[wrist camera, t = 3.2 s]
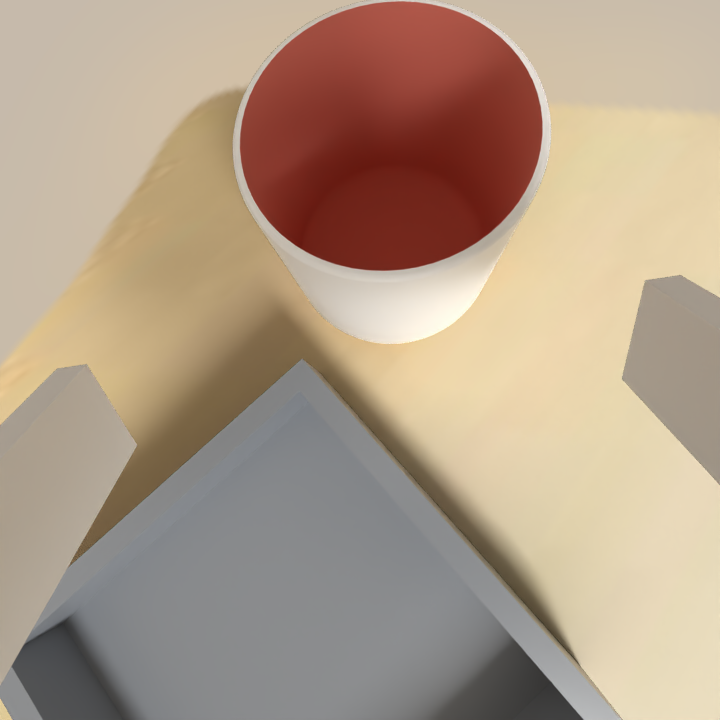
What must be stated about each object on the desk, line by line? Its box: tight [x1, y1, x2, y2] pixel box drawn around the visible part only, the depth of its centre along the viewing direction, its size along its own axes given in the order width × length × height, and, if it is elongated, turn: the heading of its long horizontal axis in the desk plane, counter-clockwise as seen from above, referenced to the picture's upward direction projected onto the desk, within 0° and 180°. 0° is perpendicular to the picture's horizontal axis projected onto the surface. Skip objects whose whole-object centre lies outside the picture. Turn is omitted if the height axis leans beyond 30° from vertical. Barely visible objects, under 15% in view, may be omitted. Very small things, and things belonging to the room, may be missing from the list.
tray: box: [0, 359, 622, 720], centre depth 18 cm, size 18×18×4 cm
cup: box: [233, 0, 551, 344], centre depth 18 cm, size 10×10×10 cm
